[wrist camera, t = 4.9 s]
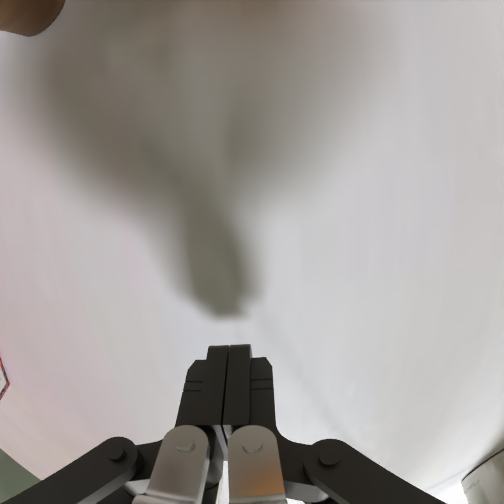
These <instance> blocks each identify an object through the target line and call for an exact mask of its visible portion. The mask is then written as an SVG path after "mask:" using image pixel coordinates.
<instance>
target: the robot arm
mask: <svg viewBox="0 0 504 504" xmlns="http://www.w3.org/2000/svg"><path fill="white" fill-rule="evenodd" d="M223 461H228V479H229V504H288V503H287V500H286V498H290V499H295V500H300V501H303V502H304V503H305V504H446V503H444V502H443V501H441V500H439V499H437V498H435V497H433V496H431V495H429V494H428V493H426V492H424V491H422V490H420V489H419V488H417V487H415V486H413V485H412V484H410V483H408V482H406V481H405V480H403V479H401V478H400V477H398V476H396V475H395V474H393V473H391V472H390V471H388V470H386V469H385V468H383V467H382V466H380V465H378V464H377V463H375V462H374V461H372V460H371V459H369V458H367V457H366V456H364V455H363V454H361V453H360V452H358V451H357V450H355V449H354V448H352V447H351V446H349V445H348V444H347V443H345V442H343V441H340V440H337V439H324V440H320V441H318V442H316V443H314V444H313V445H306V444H301V443H296V442H292V441H290V440H288V439H286V438H284V437H283V436H282V435H281V434H280V433H279V431H278V430H277V427H276V420H275V404H274V388H273V373H272V366H271V364H270V363H269V361H268V360H267V358H266V357H260V358H252V351H251V344H242V345H230V346H229V345H222V346H209V348H208V353H207V358H206V360H195V361H194V363H193V364H192V365H191V366H190V368H189V369H188V371H187V376H186V380H185V384H184V389H183V393H182V397H181V402H180V406H179V411H178V415H177V420H176V424H175V427H174V428H173V429H171V430H170V431H169V432H168V433H167V434H166V435H165V436H164V438H163V439H162V440H160V441H157V442H153V443H147V444H141V445H135V444H134V443H133V442H132V441H131V440H129V439H127V438H124V437H113V438H110V439H107V440H106V441H104V442H103V443H101V444H100V445H98V446H97V447H95V448H93V449H92V450H90V451H89V452H87V453H86V454H84V455H83V456H81V457H80V458H78V459H76V460H75V461H73V462H72V463H70V464H69V465H67V466H65V467H64V468H62V469H61V470H59V471H57V472H56V473H54V474H52V475H51V476H49V477H47V478H46V479H44V480H42V481H41V482H39V483H37V484H35V485H34V486H32V487H30V488H28V489H27V490H25V491H23V492H22V493H20V494H18V495H16V496H14V497H12V498H10V499H9V500H7V501H5V502H3V503H1V504H219V502H220V496H221V490H222V484H223V475H222V473H223ZM461 484H462V486H463V489H464V493H465V494H466V497H467V500H468V503H469V504H504V450H503V451H502V452H500V453H499V454H497V455H495V456H494V457H492V458H491V459H489V460H488V461H487V462H485V463H484V464H482V465H481V466H480V467H478V468H477V469H476V470H474V471H473V472H472V473H471V474H469V475H468V476H467V477H466V478H465V479H464V480H463V481H462V483H461Z"/></svg>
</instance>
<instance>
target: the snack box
mask: <svg viewBox="0 0 504 504" xmlns="http://www.w3.org/2000/svg"><path fill="white" fill-rule="evenodd" d="M8 387H9V382H8V380H7V377H6V374H5V372H4V369H3V366H2V363H1V360H0V400H1V398H2V397H3V395H4V394H5V392H6V390H7V389H8Z"/></svg>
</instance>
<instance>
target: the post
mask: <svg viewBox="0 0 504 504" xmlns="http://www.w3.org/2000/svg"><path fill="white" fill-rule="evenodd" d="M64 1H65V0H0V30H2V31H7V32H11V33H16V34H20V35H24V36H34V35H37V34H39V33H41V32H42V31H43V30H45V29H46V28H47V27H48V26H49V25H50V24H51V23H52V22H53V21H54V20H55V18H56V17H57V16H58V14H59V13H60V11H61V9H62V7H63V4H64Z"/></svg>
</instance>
